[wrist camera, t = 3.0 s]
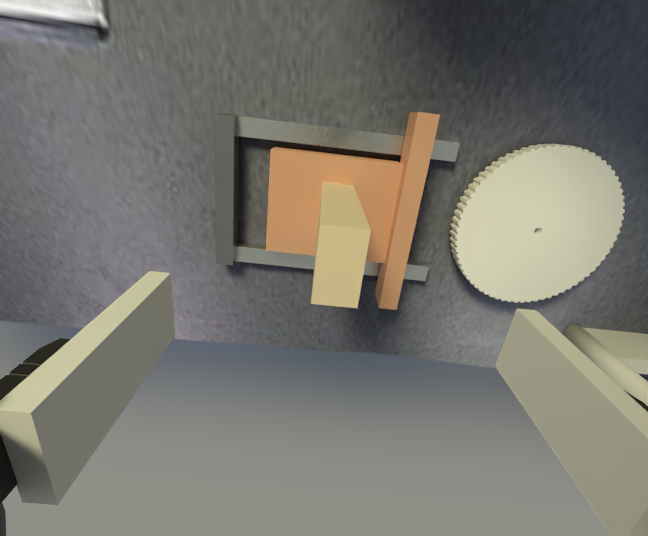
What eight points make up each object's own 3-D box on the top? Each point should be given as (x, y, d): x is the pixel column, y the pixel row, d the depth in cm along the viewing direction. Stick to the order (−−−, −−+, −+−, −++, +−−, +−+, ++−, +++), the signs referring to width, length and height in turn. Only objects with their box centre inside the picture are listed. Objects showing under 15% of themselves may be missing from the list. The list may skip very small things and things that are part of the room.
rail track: (222, 255, 33) (216, 263, 32) (221, 113, 28) (214, 113, 27) (422, 276, 34) (428, 285, 32) (456, 141, 29) (464, 143, 27)
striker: (268, 278, 34) (230, 381, 21) (277, 96, 28) (232, 78, 14) (389, 290, 34) (428, 399, 21) (426, 114, 28) (515, 113, 15)
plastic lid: (625, 143, 29) (651, 146, 27) (575, 291, 35) (593, 303, 33) (459, 141, 29) (471, 143, 27) (436, 289, 35) (444, 301, 33)
